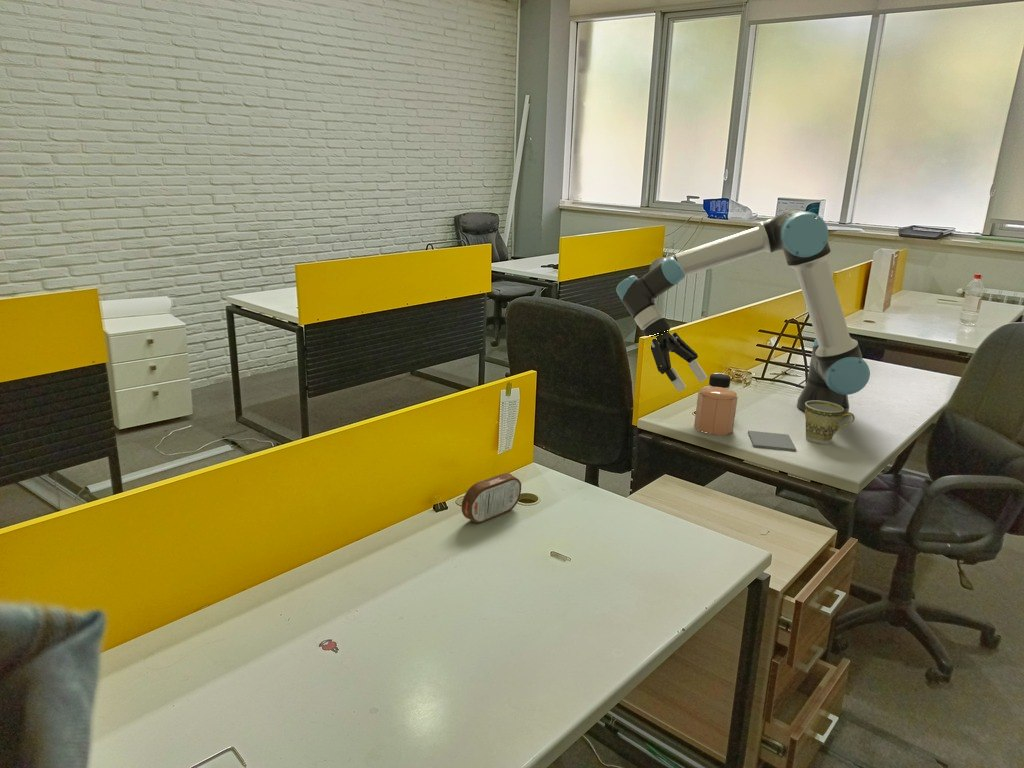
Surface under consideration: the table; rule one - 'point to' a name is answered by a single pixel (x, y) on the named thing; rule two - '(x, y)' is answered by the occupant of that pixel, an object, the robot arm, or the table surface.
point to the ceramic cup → (823, 420)
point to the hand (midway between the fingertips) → (693, 384)
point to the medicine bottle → (719, 380)
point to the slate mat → (771, 440)
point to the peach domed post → (715, 410)
